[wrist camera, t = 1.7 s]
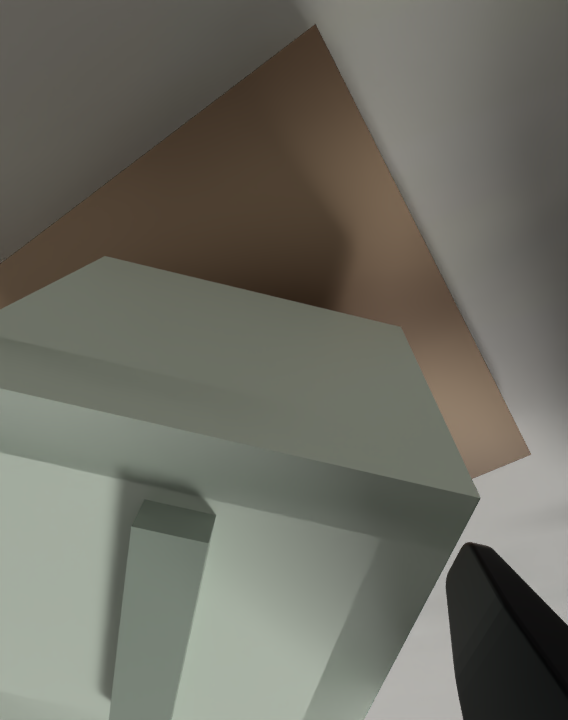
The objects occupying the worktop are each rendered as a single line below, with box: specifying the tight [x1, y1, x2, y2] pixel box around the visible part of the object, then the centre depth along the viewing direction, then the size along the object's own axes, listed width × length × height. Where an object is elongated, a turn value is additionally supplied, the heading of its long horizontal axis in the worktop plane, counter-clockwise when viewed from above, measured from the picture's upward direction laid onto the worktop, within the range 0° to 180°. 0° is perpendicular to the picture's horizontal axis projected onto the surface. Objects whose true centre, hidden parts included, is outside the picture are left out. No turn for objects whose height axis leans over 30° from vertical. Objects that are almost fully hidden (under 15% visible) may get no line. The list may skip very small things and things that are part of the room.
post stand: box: [0, 24, 531, 479], centre depth 10 cm, size 11×11×7 cm
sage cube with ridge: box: [0, 256, 480, 720], centre depth 8 cm, size 6×6×5 cm
